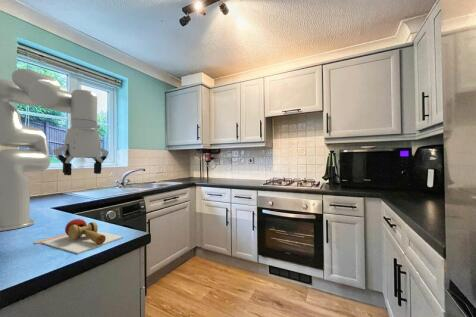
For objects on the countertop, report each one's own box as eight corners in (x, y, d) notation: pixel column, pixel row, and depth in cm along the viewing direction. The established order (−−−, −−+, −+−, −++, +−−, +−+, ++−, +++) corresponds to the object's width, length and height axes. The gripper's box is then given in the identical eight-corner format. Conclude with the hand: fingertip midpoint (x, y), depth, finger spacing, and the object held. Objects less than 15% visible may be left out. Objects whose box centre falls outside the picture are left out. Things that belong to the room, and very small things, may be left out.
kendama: (115, 243, 70) (85, 228, 79) (113, 225, 69) (83, 212, 77) (89, 256, 63) (60, 238, 72) (86, 237, 62) (57, 221, 71)
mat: (41, 243, 69) (41, 242, 69) (87, 230, 81) (87, 229, 81) (78, 254, 60) (78, 252, 60) (123, 237, 73) (123, 236, 73)
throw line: (33, 243, 69) (33, 242, 69) (86, 228, 83) (86, 228, 83) (36, 244, 68) (36, 243, 68) (89, 229, 83) (89, 228, 83)
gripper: (102, 129, 85) (101, 172, 85) (48, 123, 70) (47, 175, 70) (114, 128, 82) (113, 173, 82) (60, 121, 67) (60, 176, 66)
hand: (83, 174), depth 76 cm, fingers open, 9 cm apart
